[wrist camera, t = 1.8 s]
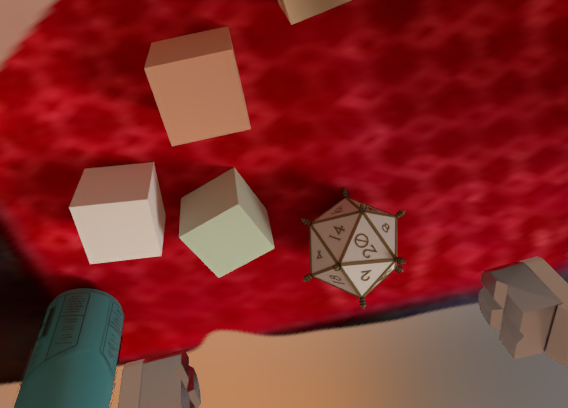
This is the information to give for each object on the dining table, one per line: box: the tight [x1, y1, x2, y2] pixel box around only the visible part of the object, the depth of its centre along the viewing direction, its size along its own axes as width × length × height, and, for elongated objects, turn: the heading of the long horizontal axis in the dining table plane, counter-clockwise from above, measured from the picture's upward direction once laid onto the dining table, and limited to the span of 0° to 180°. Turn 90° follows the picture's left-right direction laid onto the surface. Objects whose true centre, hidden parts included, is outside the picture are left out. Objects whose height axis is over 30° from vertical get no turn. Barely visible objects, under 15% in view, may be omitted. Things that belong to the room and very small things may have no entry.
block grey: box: [69, 162, 166, 264], centre depth 33 cm, size 5×5×5 cm
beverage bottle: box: [14, 288, 125, 408], centre depth 33 cm, size 6×7×20 cm
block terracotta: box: [144, 26, 251, 146], centre depth 29 cm, size 5×5×5 cm
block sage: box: [179, 168, 274, 278], centre depth 35 cm, size 5×5×5 cm
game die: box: [301, 187, 406, 310], centre depth 37 cm, size 9×8×10 cm
